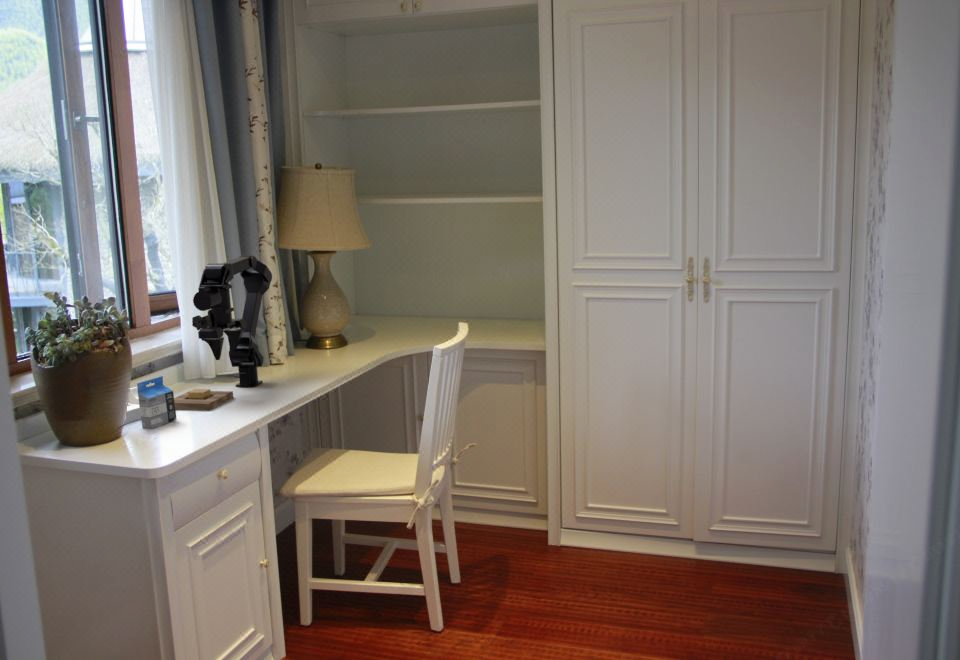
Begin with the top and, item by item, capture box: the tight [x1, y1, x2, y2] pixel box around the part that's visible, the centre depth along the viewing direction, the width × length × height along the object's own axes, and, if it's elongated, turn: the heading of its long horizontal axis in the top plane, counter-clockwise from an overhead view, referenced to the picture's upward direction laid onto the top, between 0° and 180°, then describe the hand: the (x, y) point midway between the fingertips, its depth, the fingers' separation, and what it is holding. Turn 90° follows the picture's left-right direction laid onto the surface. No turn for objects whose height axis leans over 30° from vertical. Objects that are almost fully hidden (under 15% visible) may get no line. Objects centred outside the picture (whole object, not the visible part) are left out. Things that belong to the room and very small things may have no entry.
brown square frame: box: [174, 389, 234, 412], centre depth 254 cm, size 14×14×2 cm
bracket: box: [123, 386, 141, 425], centre depth 240 cm, size 13×7×8 cm, turn 152°
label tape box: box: [136, 375, 177, 429], centre depth 233 cm, size 9×4×12 cm, turn 153°
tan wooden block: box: [187, 388, 211, 400], centre depth 253 cm, size 4×5×4 cm
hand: (225, 356), depth 260 cm, fingers open, 9 cm apart
